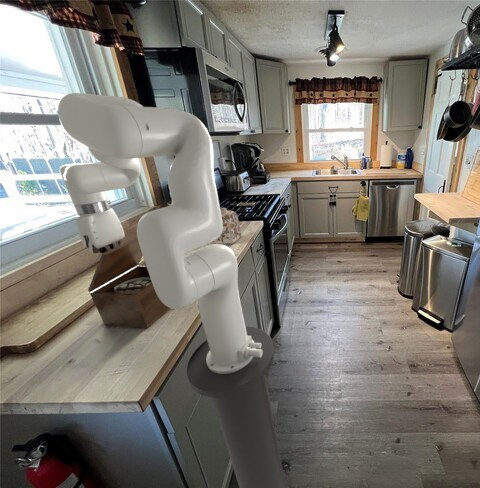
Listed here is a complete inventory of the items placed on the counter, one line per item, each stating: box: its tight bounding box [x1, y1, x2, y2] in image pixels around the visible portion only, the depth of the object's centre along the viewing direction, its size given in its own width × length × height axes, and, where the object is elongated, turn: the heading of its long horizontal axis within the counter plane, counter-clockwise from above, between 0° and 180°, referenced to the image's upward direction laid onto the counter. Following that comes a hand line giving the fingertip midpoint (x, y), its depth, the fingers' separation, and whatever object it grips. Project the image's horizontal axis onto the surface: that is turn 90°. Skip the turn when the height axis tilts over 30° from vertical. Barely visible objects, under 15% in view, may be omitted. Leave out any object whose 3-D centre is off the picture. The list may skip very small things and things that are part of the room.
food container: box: [114, 277, 152, 294], centre depth 86 cm, size 12×6×10 cm, turn 94°
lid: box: [87, 237, 143, 293], centre depth 81 cm, size 16×18×1 cm
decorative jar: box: [212, 207, 242, 245], centre depth 141 cm, size 12×12×18 cm
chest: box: [89, 264, 171, 329], centre depth 86 cm, size 16×18×12 cm
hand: (115, 263), depth 82 cm, fingers closed
